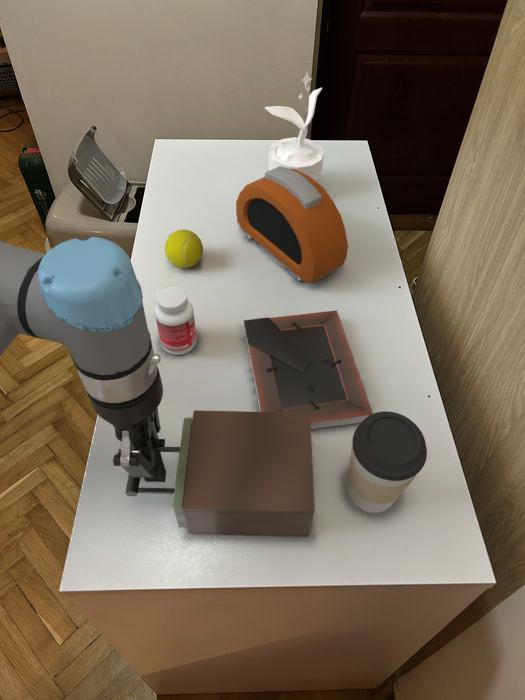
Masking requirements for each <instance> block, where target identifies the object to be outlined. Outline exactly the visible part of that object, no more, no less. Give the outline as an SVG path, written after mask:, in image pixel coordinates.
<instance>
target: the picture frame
mask: <svg viewBox="0 0 525 700" xmlns="http://www.w3.org/2000/svg"><path fill="white" fill-rule="evenodd" d="M243 330H244V331H243V332H244V336H245V341H246V347H247V353H248V356H249V357H248V358H249V361H250V367H251V373H252V377H253V382H254V383H253V384H254V389H255V393H256V399H257V404H258V408H259V412H293V413H310V423H311V430H316V429H324V428H330V427H331V428H332V427H337V426H345V425H353V424H360V423H361V422H362V421H363V420H364V419H365V418H366V417H368V416H370V415H371V414H374V413H373V411H372V408H371V405H370V402H369V400H368V397H367V393H366V391H365V388H364V385H363V382H362V378H361V377H360V373H359V371H358V368H357V365H356V362H355V359H354V356H353V353H352V350H351V347H350V344H349V341H348V340H347V339H348V338H347V336H346V333H345V330H344V328H343V324H342V322H341V319H340V316H339V313H338V311H337V310H336V309H335V310H327V311H318V312H310V313H309V312H308V313H299V314H294V315H293V314H292V315H284V316H275V317H261V318H251V319H243Z"/></svg>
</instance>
